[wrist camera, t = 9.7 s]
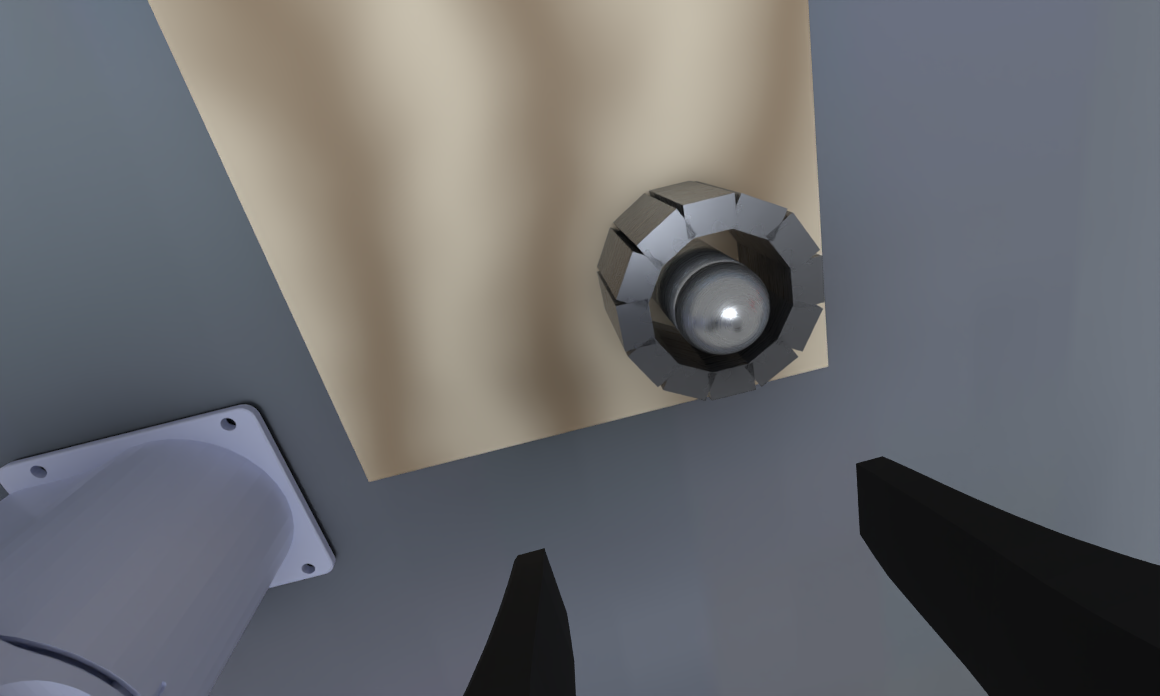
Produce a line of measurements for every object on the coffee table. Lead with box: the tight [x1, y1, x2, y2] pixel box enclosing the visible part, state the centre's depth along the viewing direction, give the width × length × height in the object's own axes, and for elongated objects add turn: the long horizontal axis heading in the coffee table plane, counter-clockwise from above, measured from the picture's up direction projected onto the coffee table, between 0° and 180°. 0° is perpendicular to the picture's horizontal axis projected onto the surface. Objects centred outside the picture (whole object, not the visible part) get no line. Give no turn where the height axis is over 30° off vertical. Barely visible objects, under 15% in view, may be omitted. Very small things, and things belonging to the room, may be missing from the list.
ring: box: [597, 181, 825, 401], centre depth 17 cm, size 6×6×4 cm
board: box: [148, 0, 828, 482], centre depth 17 cm, size 18×20×1 cm
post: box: [651, 238, 770, 355], centre depth 16 cm, size 3×3×5 cm
